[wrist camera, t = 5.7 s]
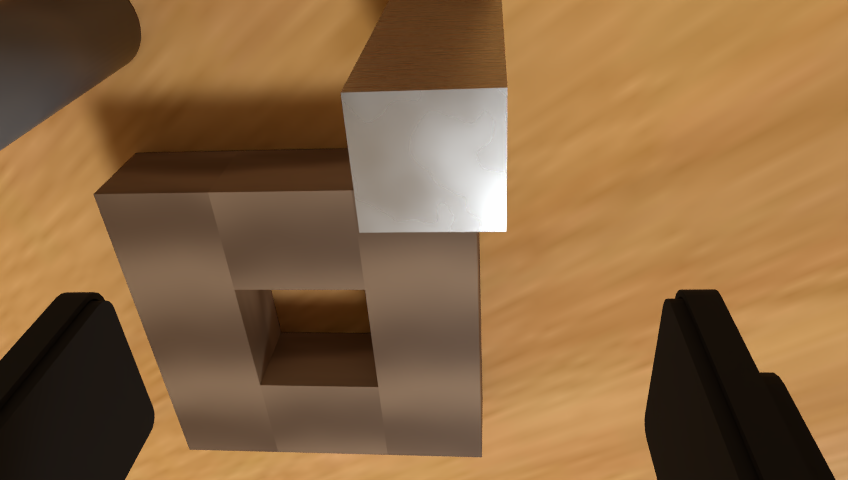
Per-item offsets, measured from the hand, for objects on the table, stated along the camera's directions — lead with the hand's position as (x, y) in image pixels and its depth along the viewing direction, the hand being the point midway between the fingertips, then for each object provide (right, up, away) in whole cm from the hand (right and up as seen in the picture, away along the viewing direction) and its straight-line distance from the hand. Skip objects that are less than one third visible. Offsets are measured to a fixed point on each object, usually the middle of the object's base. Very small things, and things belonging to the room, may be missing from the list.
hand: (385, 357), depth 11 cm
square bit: (+2, +10, +16) cm, 19 cm away
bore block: (-4, -1, +23) cm, 24 cm away
